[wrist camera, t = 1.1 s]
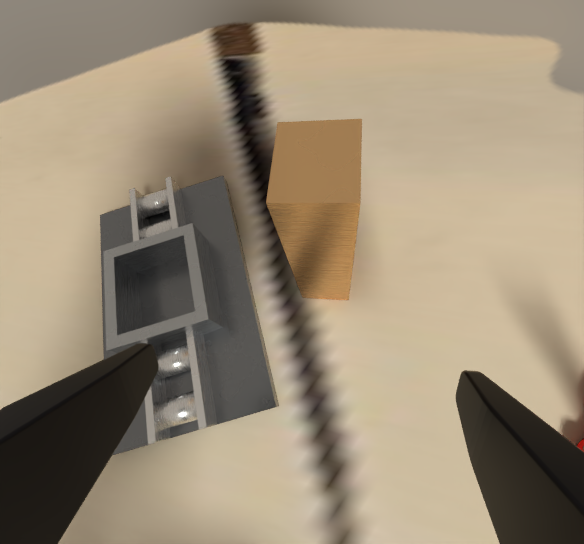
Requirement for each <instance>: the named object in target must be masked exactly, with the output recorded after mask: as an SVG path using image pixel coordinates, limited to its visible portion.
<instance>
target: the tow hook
mask: <svg viewBox="0 0 584 544" xmlns="http://www.w3.org/2000/svg"><path fill="white" fill-rule="evenodd" d="M577 447H578V448H579V449H581V450H582V451H583V452H584V439H583V440H582V441H580V442H579V443H578V445H577Z"/></svg>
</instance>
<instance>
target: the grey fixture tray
mask: <svg viewBox="0 0 584 544" xmlns="http://www.w3.org/2000/svg"><path fill="white" fill-rule="evenodd" d="M165 180H166V187H167V188H166V189H163V190H160V191H157V192H154V193H151V194H147V195H144V196H142V195H141V194H140V193H139V192H138V191H137V190H136V189H135V188H133V189H130V190H129V191H130V206H127V207H124V208H121V209H118V210H114V211H111V212H108V213H105V214H102V215H100V227H101V267H102V306H103V345H104V359H106V358H109V357H111V356H113V355H115V354H117V353H119V352H121V351H123V350H125V349H127V348H130V347H132V346H134V345H136V344H138V343H146V344H151V345H153V347H154V349H155V353H156V357H157V360H158V365H159V368H158V372H157V374H156V376H155V378H154V380H153V382H152V384H151V387H150V389H149V391H148V393H147V395H146V397H145V399H144V401H143V403H142V405H141V407H140V409H139V411H138V413H137V415H136V416H135V418H134V420H133V422H132V423H131V425H130V427H129V428H128V430H127V432H126V433H125V435H124V437H123V438H122V440H121V441H120V443H119V445H118V446H117V448H116V450H115V451H114V453H113V454H112V455H115V454H118V453H122V452H125V451H128V450H132V449H135V448H139V447H142V446H145V445H149V444H152V443H155V442H159V441H162V440H166V439H169V438H172V437H176V436H179V435H182V434H186V433H189V432H193V431H196V430H199V429H203V428H206V427H210V426H213V425H216V424H220V423H223V422H226V421H230V420H233V419H237V418H240V417H243V416H247V415H250V414H253V413H257V412H260V411H264V410H267V409H270V408H274V407H277V406H279V404H278V400H277V396H276V392H275V387H274V383H273V379H272V374H271V370H270V366H269V362H268V357H267V353H266V349H265V344H264V340H263V336H262V331H261V327H260V323H259V319H258V314H257V310H256V306H255V301H254V297H253V293H252V289H251V284H250V280H249V276H248V271H247V267H246V263H245V258H244V254H243V250H242V246H241V241H240V237H239V233H238V228H237V224H236V220H235V215H234V211H233V207H232V203H231V198H230V194H229V190H228V185H227V182H226V180H225V178H224V176H220V177H217V178H214V179H211V180H208V181H204V182H201V183H198V184H195V185H192V186H189V187H186V188H183V189H180V188H179V186H178V185H177V184H176V183H175V181H174V180H173V179H172V177H167V178H165Z"/></svg>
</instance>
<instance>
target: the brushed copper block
mask: <svg viewBox="0 0 584 544" xmlns="http://www.w3.org/2000/svg"><path fill="white" fill-rule="evenodd" d="M361 139H362V119H347V120H324V121H300V122H278V124H277V131H276V138H275V144H274V151H273V158H272V165H271V172H270V179H269V186H268V193H267V200H266V204H267V207H268V209H269V212H270V214H271V217H272V220H273V222H274V225H275V227H276V230H277V233H278V235H279V238H280V240H281V243H282V245H283V248H284V251H285V253H286V256H287V258H288V261H289V264H290V266H291V269H292V271H293V274H294V277H295V279H296V282H297V284H298V287H299V290H300V292H301V295H302V297H303V298H317V299H336V300H349V291H350V283H351V275H352V267H353V259H354V251H355V242H356V234H357V226H358V218H359V210H360V192H361Z"/></svg>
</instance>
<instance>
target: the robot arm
mask: <svg viewBox="0 0 584 544" xmlns="http://www.w3.org/2000/svg"><path fill="white" fill-rule="evenodd" d="M158 368H159V365H158V360H157V357H156V353H155V349H154V347H153V345H151V344H146V343H138V344H136V345H134V346H132V347H130V348H127V349H125V350H123V351H121V352H119V353H117V354H115V355H113V356H111V357H109V358H106V359H104V360H102V361H100V362H98V363H96V364H94V365H92V366H90V367H87V368H85V369H83V370H81V371H79V372H77V373H75V374H73V375H71V376H69V377H66V378H64V379H62V380H60V381H58V382H56V383H54V384H52V385H50V386H48V387H45V388H43V389H41V390H39V391H37V392H35V393H33V394H31V395H29V396H26V397H24V398H22V399H20V400H18V401H16V402H14V403H12V404H10V405H8V406H5V407H3V408H2V409H1V410H0V544H58V542H59V541H60V539H61V537H62V536H63V534H64V533H65V531H66V529H67V528H68V526H69V524H70V523H71V521H72V520H73V518H74V516H75V515H76V513H77V511H78V510H79V508H80V507H81V505H82V503H83V502H84V500H85V498H86V497H87V495H88V494H89V492H90V490H91V489H92V487H93V485H94V484H95V482H96V480H97V479H98V477H99V476H100V474H101V472H102V471H103V469H104V467H105V466H106V464H107V463H108V461H109V459H110V458H111V456H112V454H113V453H114V451H115V450H116V448H117V446H118V445H119V443H120V441H121V440H122V438H123V437H124V435H125V433H126V432H127V430H128V428H129V427H130V425H131V423H132V422H133V420H134V418H135V416H136V415H137V413H138V411H139V409H140V407H141V405H142V403H143V401H144V399H145V397H146V395H147V393H148V391H149V389H150V387H151V384H152V382H153V380H154V378H155V376H156V374H157V372H158ZM456 403H457V408H458V412H459V416H460V420H461V424H462V428H463V433H464V437H465V441H466V445H467V449H468V453H469V457H470V461H471V464H472V467H473V470H474V473H475V475H476V478H477V481H478V484H479V487H480V489H481V492H482V495H483V498H484V501H485V503H486V506H487V509H488V512H489V515H490V517H491V520H492V523H493V526H494V529H495V531H496V534H497V537H498V540H499V543H500V544H584V452H583V451H582V450H581V449H579V448H578V447H577V446H576V445H574V444H573V443H572V442H570V441H569V440H568V439H567V438H565V437H564V436H563V435H561V434H560V433H559V432H557V431H556V430H555V429H554V428H552V427H551V426H550V425H548V424H547V423H546V422H545V421H543V420H542V419H541V418H539V417H538V416H537V415H535V414H534V413H533V412H532V411H530V410H529V409H528V408H526V407H525V406H524V405H523V404H521V403H520V402H519V401H517V400H516V399H515V398H513V397H512V396H511V395H510V394H508V393H507V392H506V391H504V390H503V389H502V388H501V387H499V386H498V385H497V384H495V383H494V382H493V381H491V380H490V379H489V378H488V377H486V376H485V375H484V374H482V373H481V372H478V371H467V370H465V371H463V372H462V373H461V375H460V379H459V383H458V387H457V391H456Z"/></svg>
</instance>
